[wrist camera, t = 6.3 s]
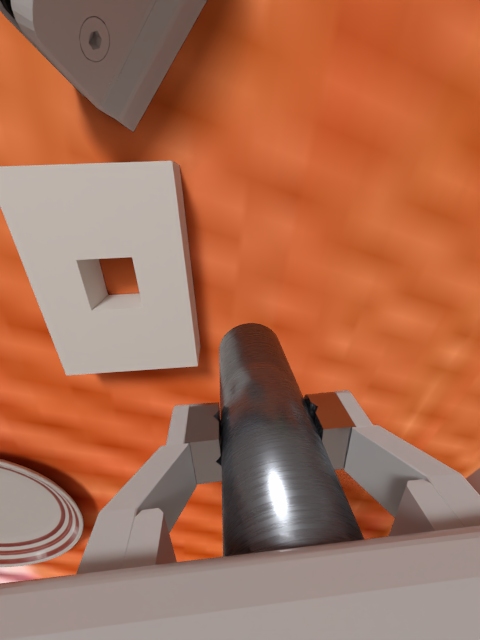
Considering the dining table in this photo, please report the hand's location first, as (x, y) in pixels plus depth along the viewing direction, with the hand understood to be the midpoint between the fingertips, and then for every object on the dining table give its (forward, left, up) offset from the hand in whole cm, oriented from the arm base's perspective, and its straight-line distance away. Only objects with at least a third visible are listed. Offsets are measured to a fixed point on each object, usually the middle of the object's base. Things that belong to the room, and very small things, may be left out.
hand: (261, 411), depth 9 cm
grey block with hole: (+11, 0, -20) cm, 22 cm away
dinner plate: (+37, +33, -20) cm, 54 cm away
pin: (0, 0, -4) cm, 4 cm away
